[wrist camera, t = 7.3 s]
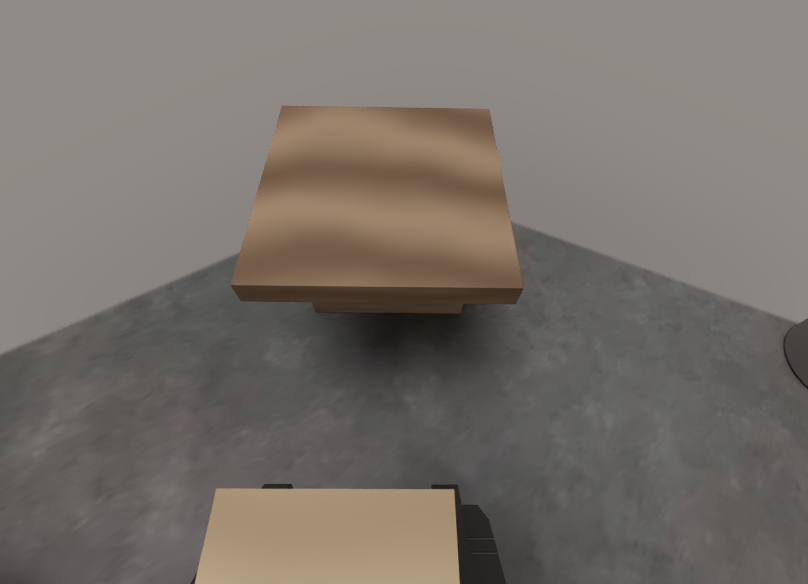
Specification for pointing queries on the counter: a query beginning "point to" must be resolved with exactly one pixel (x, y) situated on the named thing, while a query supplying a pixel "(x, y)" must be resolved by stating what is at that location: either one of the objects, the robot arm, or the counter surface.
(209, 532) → the oak block
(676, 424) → the counter surface
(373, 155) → the walnut shelf
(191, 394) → the counter surface
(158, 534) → the counter surface
